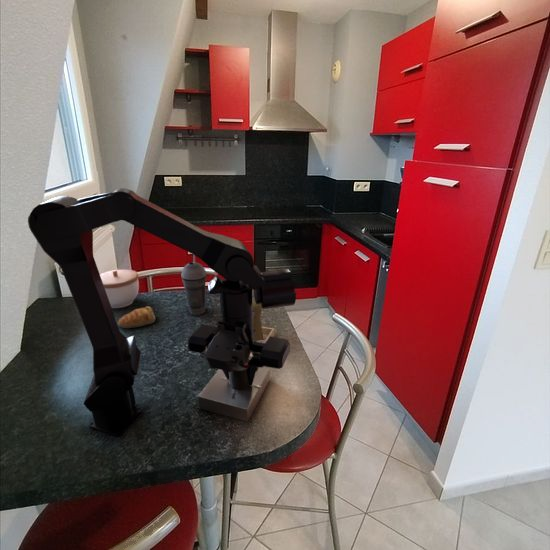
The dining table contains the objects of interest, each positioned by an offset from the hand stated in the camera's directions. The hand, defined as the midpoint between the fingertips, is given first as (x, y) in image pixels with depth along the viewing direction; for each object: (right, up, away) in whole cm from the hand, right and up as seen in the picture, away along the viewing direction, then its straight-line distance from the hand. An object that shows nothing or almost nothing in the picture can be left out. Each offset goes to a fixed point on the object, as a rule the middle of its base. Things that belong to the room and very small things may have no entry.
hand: (240, 381), depth 63 cm
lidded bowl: (-42, +12, +39) cm, 59 cm away
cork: (+1, +4, +19) cm, 19 cm away
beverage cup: (-17, +10, +34) cm, 39 cm away
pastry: (-32, +7, +28) cm, 43 cm away
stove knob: (0, 0, 0) cm, 0 cm away
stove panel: (-1, -3, +2) cm, 3 cm away
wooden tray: (-2, +3, +17) cm, 18 cm away
